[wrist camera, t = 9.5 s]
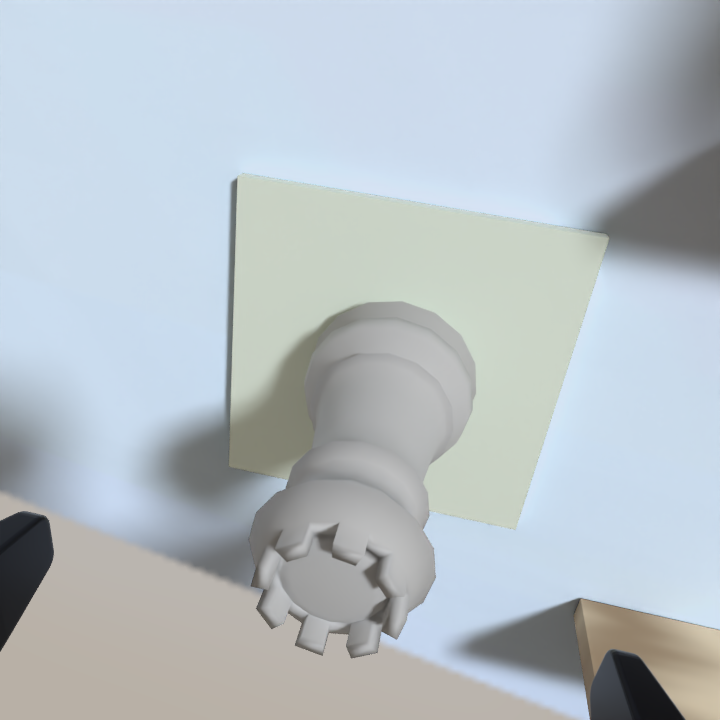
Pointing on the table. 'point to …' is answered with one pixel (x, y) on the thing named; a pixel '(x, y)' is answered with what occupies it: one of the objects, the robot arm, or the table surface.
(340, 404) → the rook chess piece
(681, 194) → the table surface
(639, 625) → the open box
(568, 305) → the sage mat
